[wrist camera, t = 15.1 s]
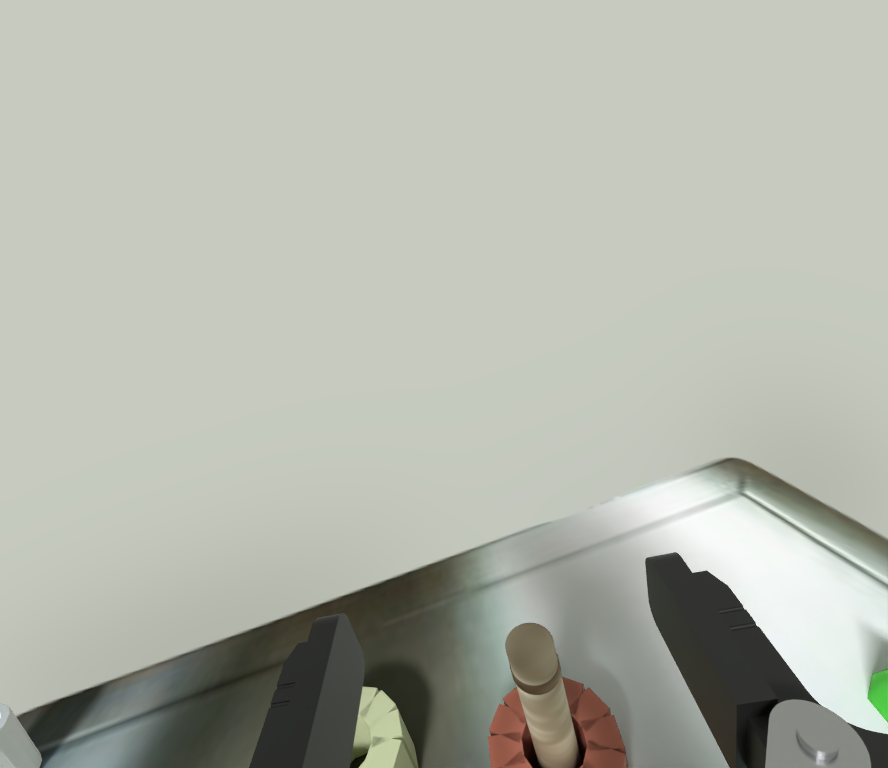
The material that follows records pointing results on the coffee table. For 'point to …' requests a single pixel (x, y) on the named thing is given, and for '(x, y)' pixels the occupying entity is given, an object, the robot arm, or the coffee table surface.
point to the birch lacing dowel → (543, 695)
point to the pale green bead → (382, 733)
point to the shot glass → (16, 743)
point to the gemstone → (879, 692)
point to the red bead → (590, 723)
